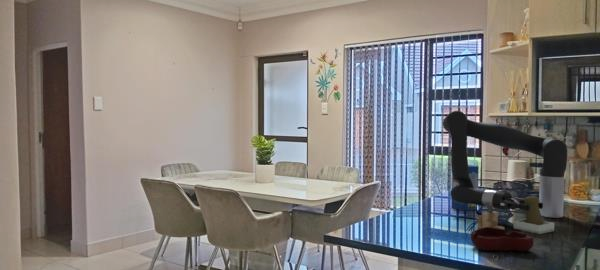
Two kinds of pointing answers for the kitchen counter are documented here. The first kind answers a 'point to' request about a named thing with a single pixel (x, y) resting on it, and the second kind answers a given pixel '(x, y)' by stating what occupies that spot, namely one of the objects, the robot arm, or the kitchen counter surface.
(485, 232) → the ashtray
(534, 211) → the cork
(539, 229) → the tray
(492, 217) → the bracket
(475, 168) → the milk carton
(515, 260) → the kitchen counter surface
